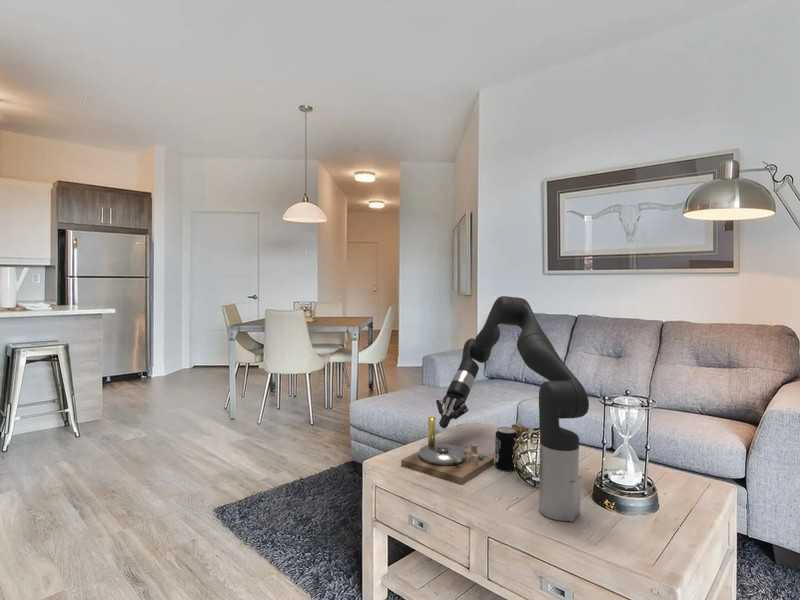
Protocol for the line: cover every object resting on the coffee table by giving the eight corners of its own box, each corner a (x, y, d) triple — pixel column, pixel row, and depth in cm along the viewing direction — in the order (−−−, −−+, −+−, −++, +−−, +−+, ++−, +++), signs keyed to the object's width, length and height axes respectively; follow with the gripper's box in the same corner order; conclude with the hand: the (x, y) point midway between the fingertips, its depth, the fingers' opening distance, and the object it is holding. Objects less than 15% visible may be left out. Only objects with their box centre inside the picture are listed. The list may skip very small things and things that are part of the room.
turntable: (494, 464, 150) (494, 448, 150) (462, 484, 134) (462, 467, 134) (436, 448, 164) (436, 434, 164) (401, 465, 148) (401, 450, 148)
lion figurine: (509, 450, 163) (510, 425, 163) (511, 445, 168) (512, 420, 168) (554, 456, 158) (555, 429, 158) (554, 451, 163) (555, 425, 163)
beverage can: (511, 473, 143) (511, 434, 143) (491, 468, 147) (492, 430, 147) (519, 466, 148) (520, 429, 148) (500, 461, 152) (501, 425, 152)
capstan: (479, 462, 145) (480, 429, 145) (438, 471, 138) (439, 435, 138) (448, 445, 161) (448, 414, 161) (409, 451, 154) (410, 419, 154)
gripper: (441, 377, 173) (422, 417, 164) (473, 382, 165) (454, 424, 156) (449, 389, 178) (430, 428, 168) (480, 394, 170) (462, 436, 160)
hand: (442, 426), depth 162 cm, fingers closed
